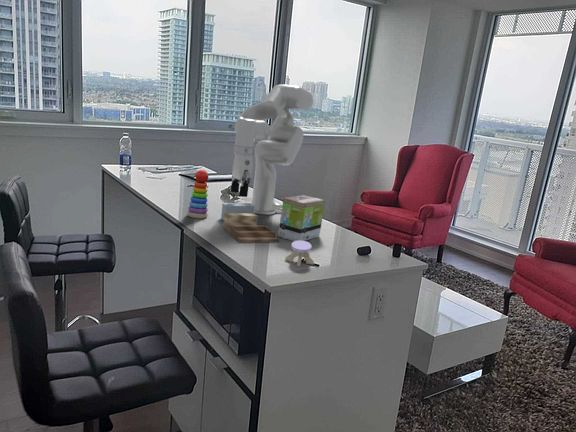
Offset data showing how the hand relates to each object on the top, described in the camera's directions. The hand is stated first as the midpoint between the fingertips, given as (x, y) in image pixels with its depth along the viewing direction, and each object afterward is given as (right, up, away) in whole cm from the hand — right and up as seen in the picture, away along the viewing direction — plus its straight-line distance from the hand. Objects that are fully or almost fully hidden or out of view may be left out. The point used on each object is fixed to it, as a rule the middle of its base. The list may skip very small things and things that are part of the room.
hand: (238, 194), depth 187 cm
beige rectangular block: (+1, -13, -7) cm, 15 cm away
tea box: (+24, -17, -10) cm, 31 cm away
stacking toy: (-17, -9, +1) cm, 19 cm away
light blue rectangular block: (-1, -10, +3) cm, 11 cm away
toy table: (+23, -23, -40) cm, 52 cm away
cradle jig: (+6, -16, -17) cm, 24 cm away
